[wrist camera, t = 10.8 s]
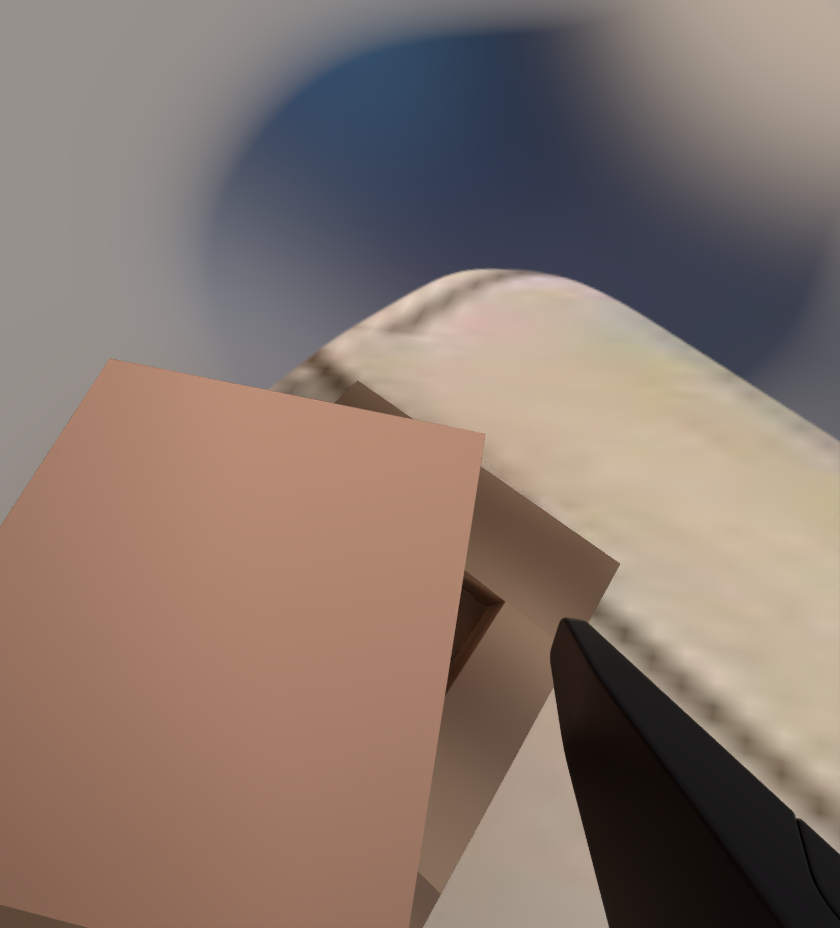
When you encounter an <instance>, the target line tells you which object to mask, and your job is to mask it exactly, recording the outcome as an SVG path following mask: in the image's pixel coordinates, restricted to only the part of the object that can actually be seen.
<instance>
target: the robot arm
mask: <svg viewBox="0 0 840 928" xmlns="http://www.w3.org/2000/svg"><path fill="white" fill-rule="evenodd" d="M550 665H551V671H552V678H553V684H554V691H555V697H556V704H557V710H558V716H559V723H560V729H561V736H562V741H563V747H564V752H565V756H566V761H567V765H568V769H569V773H570V777H571V781H572V785H573V789H574V793H575V796H576V800H577V804H578V808H579V812H580V816H581V820H582V824H583V828H584V831H585V835H586V839H587V843H588V847H589V851H590V855H591V859H592V863H593V867H594V870H595V874H596V878H597V882H598V886H599V890H600V894H601V898H602V902H603V905H604V909H605V913H606V917H607V921H608V925H609V928H840V854H839V853H838V852H837V851H836V850H835V849H833V848H832V847H831V846H830V845H829V844H828V843H827V842H826V841H825V840H824V839H823V838H822V837H820V836H819V835H818V834H817V833H816V832H815V831H814V830H813V829H812V828H811V827H810V826H808V825H807V824H806V823H805V822H804V821H803V820H802V819H800V818H796V817H795V814H794V812H793V811H792V810H791V809H790V808H789V807H788V806H786V805H785V804H784V803H783V802H782V801H781V800H780V799H779V798H778V797H777V796H776V795H775V794H773V793H772V792H771V791H770V790H769V789H768V788H767V787H766V786H765V785H764V784H763V783H761V782H760V781H759V780H758V779H757V778H756V777H755V776H754V775H753V774H752V773H751V772H750V771H748V770H747V769H746V768H745V767H744V766H743V765H742V764H741V763H740V762H739V761H738V760H737V759H735V758H734V757H733V756H732V755H731V754H730V753H729V752H728V751H727V750H726V749H725V748H723V747H722V746H721V745H720V744H719V743H718V742H717V741H716V740H715V739H714V738H713V737H712V736H710V735H709V734H708V733H707V732H706V731H705V730H704V729H703V728H702V727H701V726H700V725H698V724H697V723H696V722H695V721H694V720H693V719H692V718H691V717H690V716H689V715H688V714H687V713H685V712H684V711H683V710H682V709H681V708H680V707H679V706H678V705H677V704H676V703H675V702H674V701H672V700H671V699H670V698H669V697H668V696H667V695H666V694H665V693H664V692H663V691H662V690H660V689H659V688H658V687H657V686H656V685H655V684H654V683H653V682H652V681H651V680H650V679H649V678H647V677H646V676H645V675H644V674H643V673H642V672H641V671H640V670H639V669H638V668H637V667H635V666H634V665H633V664H632V663H631V662H630V661H629V660H628V659H627V658H626V657H625V656H624V655H622V654H621V653H620V652H619V651H618V650H617V649H616V648H615V647H614V646H613V645H612V644H610V643H609V642H608V641H607V640H606V639H605V638H604V637H603V636H602V635H601V634H600V633H599V632H597V631H596V630H595V629H594V628H593V627H592V626H591V625H590V624H589V623H588V622H586V621H585V620H582V619H575V618H568V617H565V618H562V619H561V620H560V622H559V625H558V628H557V631H556V634H555V637H554V640H553V644H552V647H551V650H550Z"/></svg>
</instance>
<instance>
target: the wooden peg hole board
mask: <svg viewBox="0 0 840 928" xmlns="http://www.w3.org/2000/svg"><path fill="white" fill-rule="evenodd" d="M334 404H339V405H344V406H349V407H354V408H359V409H364V410H369V411H374V412H379V413H384V414H389V415H394V416H399V417H404V418H409V419H412V418H410V417H409V416H408V415H406V414H405V413H403V412H402V411H400V410H399V409H398V408H396V407H395V406H393V405H392V404H390V403H389V402H388V401H386V400H385V399H383V398H382V397H380V396H379V395H377V394H376V393H375V392H373V391H372V390H370V389H369V388H367V387H366V386H365V385H363V384H362V383H360V382H359V381H357V382H356V383H355V384H354V385H353V386H352V387H351V388H350V389H349V390H348V391H347V392H346V393H345V394H344V395H342V396H341V397H340V398H339V399H338V400H337V401H336V402H335V403H334ZM619 565H620V563H618V562H617V561H615V560H614V559H613V558H611V557H610V556H608V555H607V554H605V553H604V552H603V551H601V550H600V549H598V548H597V547H595V546H594V545H593V544H591V543H590V542H588V541H587V540H585V539H584V538H583V537H581V536H580V535H578V534H577V533H575V532H574V531H572V530H571V529H570V528H568V527H567V526H565V525H564V524H562V523H561V522H560V521H558V520H557V519H555V518H554V517H552V516H551V515H550V514H548V513H547V512H545V511H544V510H542V509H541V508H540V507H538V506H537V505H535V504H534V503H532V502H531V501H529V500H528V499H527V498H525V497H524V496H522V495H521V494H519V493H518V492H517V491H515V490H514V489H512V488H511V487H509V486H508V485H507V484H505V483H504V482H502V481H501V480H499V479H498V478H496V477H495V476H494V475H492V474H491V473H489V472H488V471H486V470H485V469H484V468H482V467H481V466H480V473H479V479H478V486H477V492H476V498H475V505H474V511H473V518H472V524H471V531H470V537H469V544H468V550H467V557H466V563H465V569H464V576H463V582H462V587H463V588H464V589H466V590H467V591H468V592H469V593H471V594H472V595H473V596H475V597H476V598H477V599H478V600H480V601H481V602H482V603H483V604H485V605H486V606H487V608H486V610H485V611H484V613H483V614H482V616H481V617H480V619H479V620H478V622H477V623H476V625H475V626H474V628H473V629H472V631H471V632H470V634H469V635H468V637H467V639H466V640H465V642H464V643H463V645H462V646H461V648H460V649H459V651H458V652H457V654H456V655H455V657H454V658H453V660H452V661H451V663H450V666H449V673H448V679H447V685H446V692H445V698H444V705H443V711H442V718H441V724H440V731H439V737H438V744H437V750H436V756H435V763H434V769H433V776H432V782H431V789H430V795H429V802H428V808H427V815H426V821H425V827H424V834H423V840H422V847H421V853H420V860H419V866H418V873H417V879H416V885H415V892H414V898H413V905H412V911H411V918H410V924H409V928H423V926H424V924H425V922H426V920H427V919H428V917H429V915H430V913H431V911H432V909H433V908H434V906H435V904H436V902H437V900H438V898H439V897H440V895H441V893H442V891H443V889H444V887H445V886H446V884H447V882H448V880H449V878H450V876H451V874H452V873H453V871H454V869H455V867H456V865H457V863H458V862H459V860H460V858H461V856H462V854H463V852H464V851H465V849H466V847H467V845H468V843H469V841H470V839H471V838H472V836H473V834H474V832H475V830H476V828H477V827H478V825H479V823H480V821H481V819H482V817H483V816H484V814H485V812H486V810H487V808H488V806H489V805H490V803H491V801H492V799H493V797H494V795H495V793H496V792H497V790H498V788H499V786H500V784H501V782H502V781H503V779H504V777H505V775H506V773H507V771H508V770H509V768H510V766H511V764H512V762H513V760H514V759H515V757H516V755H517V753H518V751H519V749H520V747H521V746H522V744H523V742H524V740H525V738H526V736H527V735H528V733H529V731H530V729H531V727H532V725H533V724H534V722H535V720H536V718H537V716H538V714H539V712H540V711H541V709H542V707H543V705H544V703H545V701H546V700H547V698H548V696H549V694H550V692H551V690H552V689H553V687H554V684H553V678H552V671H551V665H550V650H551V647H552V644H553V640H554V637H555V634H556V631H557V628H558V625H559V622H560V620H561V619H562V618H565V617H568V618H575V619H582V620H585V621H586V622H589V620H590V619H591V617H592V615H593V613H594V611H595V609H596V608H597V606H598V604H599V602H600V600H601V598H602V597H603V595H604V593H605V591H606V589H607V587H608V585H609V584H610V582H611V580H612V578H613V576H614V574H615V573H616V571H617V569H618V567H619ZM0 928H87V927H83V926H79V925H75V924H72V923H68V922H64V921H60V920H56V919H53V918H49V917H45V916H41V915H38V914H34V913H30V912H26V911H22V910H19V909H15V908H11V907H7V906H3V905H0Z"/></svg>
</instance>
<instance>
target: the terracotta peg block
mask: <svg viewBox="0 0 840 928" xmlns="http://www.w3.org/2000/svg"><path fill="white" fill-rule="evenodd" d="M484 440H485V434H483V433H478V432H473V431H469V430H464V429H459V428H454V427H449V426H444V425H439V424H434V423H429V422H424V421H419V420H414V419H409V418H404V417H399V416H394V415H389V414H384V413H379V412H374V411H369V410H364V409H359V408H354V407H349V406H344V405H339V404H334V403H329V402H324V401H319V400H314V399H309V398H304V397H299V396H294V395H289V394H284V393H280V392H275V391H270V390H265V389H260V388H255V387H250V386H245V385H239V384H235V383H230V382H225V381H220V380H215V379H210V378H204V377H200V376H195V375H190V374H185V373H180V372H175V371H170V370H165V369H160V368H155V367H150V366H145V365H140V364H135V363H130V362H125V361H120V360H115V359H109V360H108V362H107V363H106V365H105V367H104V368H103V370H102V371H101V373H100V374H99V376H98V377H97V379H96V380H95V382H94V383H93V385H92V387H91V388H90V390H89V391H88V393H87V394H86V396H85V397H84V399H83V400H82V402H81V403H80V405H79V406H78V408H77V410H76V411H75V413H74V414H73V416H72V417H71V419H70V420H69V422H68V423H67V425H66V426H65V428H64V429H63V431H62V433H61V434H60V436H59V437H58V439H57V440H56V442H55V444H54V445H53V446H52V448H51V449H50V451H49V453H48V454H47V456H46V457H45V459H44V460H43V462H42V463H41V465H40V466H39V468H38V469H37V471H36V473H35V474H34V476H33V477H32V479H31V480H30V482H29V483H28V485H27V487H26V488H25V490H24V491H23V493H22V494H21V496H20V497H19V499H18V500H17V502H16V503H15V505H14V506H13V508H12V509H11V511H10V512H9V514H8V516H7V517H6V519H5V520H4V522H3V523H2V525H1V526H0V905H3V906H7V907H11V908H15V909H19V910H22V911H26V912H30V913H34V914H38V915H41V916H45V917H49V918H53V919H56V920H60V921H64V922H68V923H72V924H75V925H79V926H83V927H87V928H409V924H410V918H411V911H412V905H413V898H414V892H415V885H416V879H417V873H418V866H419V860H420V853H421V847H422V840H423V834H424V827H425V821H426V815H427V808H428V802H429V795H430V789H431V782H432V776H433V769H434V763H435V756H436V750H437V744H438V737H439V731H440V724H441V718H442V711H443V705H444V698H445V692H446V685H447V679H448V673H449V666H450V660H451V653H452V647H453V640H454V634H455V627H456V621H457V615H458V608H459V602H460V595H461V589H462V582H463V576H464V569H465V563H466V557H467V550H468V544H469V537H470V531H471V524H472V518H473V511H474V505H475V498H476V492H477V486H478V479H479V473H480V466H481V460H482V453H483V447H484Z"/></svg>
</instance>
